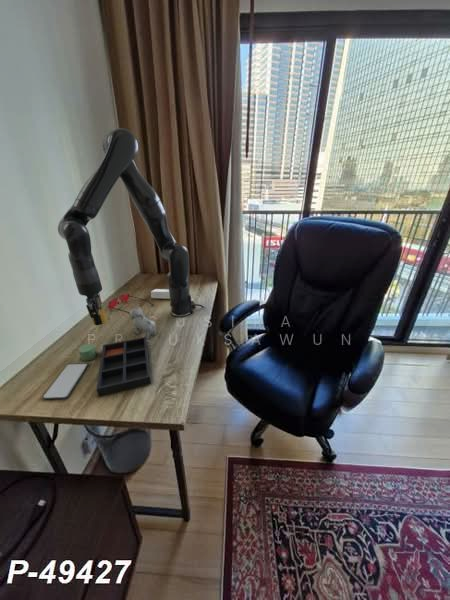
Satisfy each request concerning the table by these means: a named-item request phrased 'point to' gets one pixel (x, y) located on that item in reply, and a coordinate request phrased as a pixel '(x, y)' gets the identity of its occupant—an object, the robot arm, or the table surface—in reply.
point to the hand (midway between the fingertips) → (99, 320)
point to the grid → (123, 366)
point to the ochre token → (102, 315)
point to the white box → (160, 293)
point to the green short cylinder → (87, 352)
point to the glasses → (122, 298)
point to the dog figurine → (142, 322)
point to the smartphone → (65, 381)
